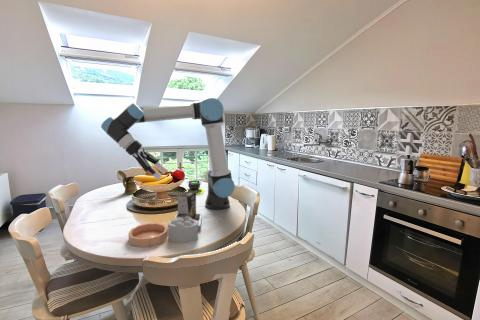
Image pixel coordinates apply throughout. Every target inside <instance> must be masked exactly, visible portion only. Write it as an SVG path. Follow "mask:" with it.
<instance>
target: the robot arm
mask: <svg viewBox="0 0 480 320" xmlns="http://www.w3.org/2000/svg"><path fill="white" fill-rule="evenodd" d="M224 110H225V109H224V105H223V103H222V101H220V100H219V99H218V98H215V97H211V96H210V97H209V96H208V97H205V98H203V99H202V100H199V101H193V102H190V103H188V104H177V105H176V104H175V105H165V106H163V105H162V106H155V107H153V106H152V107H143V108H142V107H141V108H140V107H139V106H138V105H137V104H136V103H135V102H134V103H130V104H129V105H128V106H126V108H125V109H124V110H123V111H122V112H121V113H120V114H119V115H117V117H113V116H109V117H107V118H106V119H105V120H104V121H103V122H102V123H101V124H100V125H101V126H100V127H101V129H102V130H103V131H104V132H105V133H106V134H107V136H109V137H110V138H111V139H112V140H113V141H114V142H116V144H118V145H119V148H122V149H123V150H125V152H126V153H127V154H128V155H129V156H132V157H133V158H134V159H135V160H136V162H137V163H138V164H139V166H140V167H142V169H143V171H144V172H149V174H150V175H151V176H153V177H154V178H155V179H156V180H157V181H159V180H160V179H161V178H162V177H163V175H164V174H165V173H166V172H167V171H168V169H167V168H166V167H165V166H164V165H163V164H162V163H160V159H159V158H157V157H155V156H154V155H152V154H151V153H150V152H149V151H147V150H146V149H145V148H142V147H143V144H142V143H141V142H140V141H139V140H137V139H136V137H135V136H134V135H133V134H131V132H129V129H131V128H132V127H133V126H134V125H135V124H139V123H140V124H141V123H149V122H150V123H152V122H160V121H172V120H182V119H192V120H200V122H201V126H203V127H204V129H205V134H206V141H207V146H208V152H209V158H210V165H211V169H208V171H207V196H206V198H205V199H206V200H205V202H204V206H205V208H207V209H210V210H225V209H228V208H229V207H230V205H231V204H230V199H229V197H230V196H232V194H234V192H235V189H236V186H235V185H236V184H235V181H233V177H232V176H233V175H232V171H231V170H230V169H229V168H228V162H227V155H226V154H227V153H226V149H225V143H224V141H225V140H224V135H223V130H222V129H223V128H222V125H223V124H224V112H225V111H224ZM150 163H151V164H153V165H154V167H156V168H157V170H159V171H160V172H159V171H157V170H156V168H154V167H153V166H151V165H150ZM161 173H162V174H161Z"/></svg>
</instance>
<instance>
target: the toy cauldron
mask: <svg viewBox="0 0 480 320" xmlns="http://www.w3.org/2000/svg"><path fill="white" fill-rule="evenodd" d="M193 178H194V177H192V176H191V179H190V180H188V181H186V184H187V185H188V189H186V190H188V192H196V195H200V194H201V195H202V194H203V193H204V192H205V189H204V188H200V187H201V184H202V183H203V181H201V180H199V179H194V180H192V179H193Z"/></svg>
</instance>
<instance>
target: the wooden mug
mask: <svg viewBox="0 0 480 320" xmlns="http://www.w3.org/2000/svg"><path fill="white" fill-rule="evenodd" d="M117 173H118V174H119V176H121V177H122V185H123V187H124V194H125V195H134V194H133V193H134V192H135V191H137V190H138V187H137V183H136V184H135V182H134V180H133V178H134V177H135V176H133V175H132V176H127V174H126V173H124V172H123V171H122V170H118V171H117Z"/></svg>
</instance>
